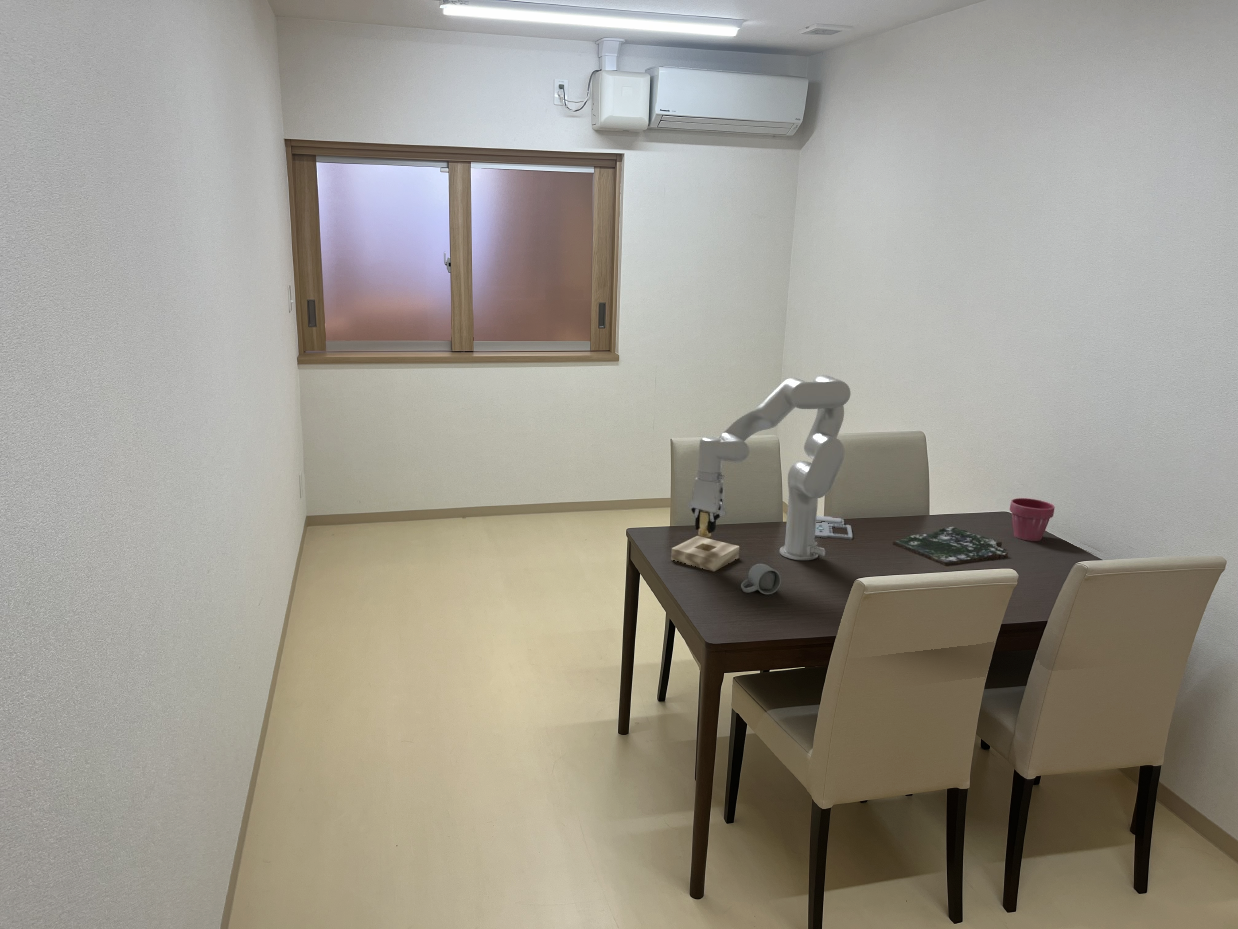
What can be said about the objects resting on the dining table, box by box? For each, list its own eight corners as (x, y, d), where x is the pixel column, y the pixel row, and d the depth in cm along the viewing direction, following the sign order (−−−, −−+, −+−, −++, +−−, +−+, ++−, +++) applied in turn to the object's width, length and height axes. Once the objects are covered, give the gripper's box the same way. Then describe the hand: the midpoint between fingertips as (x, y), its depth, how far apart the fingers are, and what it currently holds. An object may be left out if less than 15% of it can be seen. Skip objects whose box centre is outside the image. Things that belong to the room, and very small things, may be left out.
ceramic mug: (767, 583, 261) (769, 559, 259) (780, 593, 253) (782, 568, 251) (736, 587, 258) (737, 563, 256) (748, 597, 250) (749, 572, 248)
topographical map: (892, 545, 298) (893, 537, 297) (957, 532, 314) (958, 525, 313) (952, 570, 276) (953, 561, 276) (1019, 555, 292) (1020, 547, 291)
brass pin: (712, 535, 278) (714, 511, 276) (706, 538, 275) (708, 514, 273) (702, 532, 280) (704, 509, 278) (696, 535, 277) (697, 511, 275)
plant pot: (1037, 531, 316) (1042, 497, 313) (1057, 544, 303) (1062, 509, 299) (999, 530, 316) (1003, 497, 313) (1017, 543, 302) (1022, 508, 299)
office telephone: (795, 511, 326) (849, 515, 323) (795, 518, 327) (849, 522, 323) (795, 529, 304) (853, 534, 300) (794, 536, 305) (852, 541, 301)
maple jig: (738, 557, 281) (739, 546, 280) (714, 571, 269) (714, 559, 268) (696, 547, 290) (697, 535, 289) (671, 560, 278) (671, 548, 277)
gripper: (737, 478, 271) (733, 533, 275) (692, 468, 280) (688, 522, 285) (726, 483, 265) (721, 539, 269) (680, 473, 274) (676, 527, 279)
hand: (705, 529), depth 277 cm, fingers closed on brass pin, 4 cm apart
